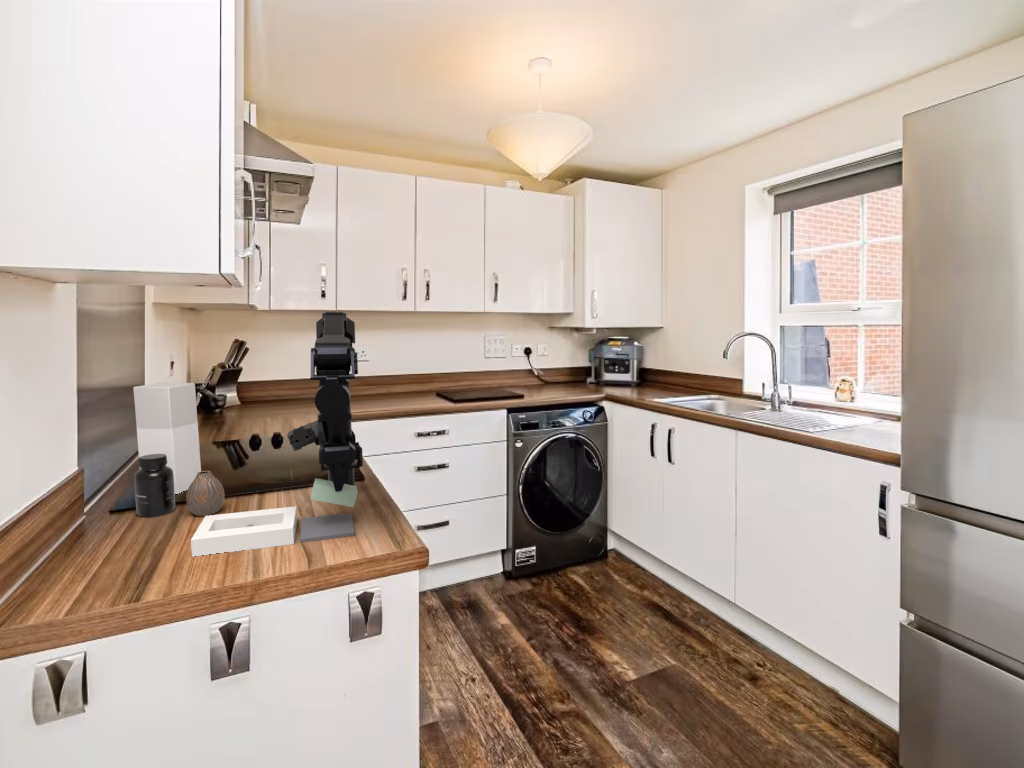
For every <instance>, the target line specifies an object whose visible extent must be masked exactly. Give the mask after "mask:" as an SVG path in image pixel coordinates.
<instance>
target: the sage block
mask: <svg viewBox="0 0 1024 768" xmlns="http://www.w3.org/2000/svg"><path fill="white" fill-rule="evenodd" d="M312 485H313V486H312V489H311V492H310V500H311V501H317V502H322V503H328V504H334V505H338V506H339V505H340V506H344V507H350V508H354V506H355V504H356V500H357V497H358V494H359V490H358V486H357V485H355V486H353V485H348V484H344V486H343V488H342V491H339V492H336V491H335V488H334V484H333V482H332V481H328V480H326V479H322V478H317V477H316V478H314V482H313V484H312Z"/></svg>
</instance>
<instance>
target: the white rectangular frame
mask: <svg viewBox="0 0 1024 768" xmlns="http://www.w3.org/2000/svg"><path fill="white" fill-rule="evenodd" d="M297 514H298V513H297V506H296V505H295V506H287V507H286V506H285V507H277V508H268V509H259V510H258V509H257V510H249V511H239V512H230V513H221V514H213V515H209V516H204V517H203V519H202V521H201V523H200V524H199V526H198V528H197V529H196V531H195V532H194V534H193V536H192V537H191V539H190V549H191V550H190V551H191V557H192V558H194V557H195V556H196V557H202V555H204V556H210V555H209V554H212V555H217V554H216V553H220V554H225V553H224V552H228V553H234V552H235V551H236V552H242V550H244V551H250V550H251V549H252V550H259V549H266V548H274V547H283V546H290V545H294V544H295V539H296V538H295V537H296V529H297V526H298V525H297V524H298V515H297Z"/></svg>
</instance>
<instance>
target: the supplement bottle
mask: <svg viewBox="0 0 1024 768" xmlns="http://www.w3.org/2000/svg"><path fill="white" fill-rule="evenodd" d="M138 463H139V464H138V467H139V469H138V470H137V471H136V472H135V473H134V476H133V480H134V482H133V483H134V494H135V495H134V498H135V508H136V509H135V510H136V514H137V515H138V516H139V517H141V518H154V517H155V516H157V517H160V515H162V516H165V515H168V514H170V513H172V512H174V510H175V509H176V495H175V492H174V476H173V470H172V469H171V468H170V467H168V466H166V464H167V456H166V454H150V455H145V456H142V457H140V458H139V457H138ZM140 467H141V469H140ZM164 514H165V515H164ZM155 518H156V517H155Z"/></svg>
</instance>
